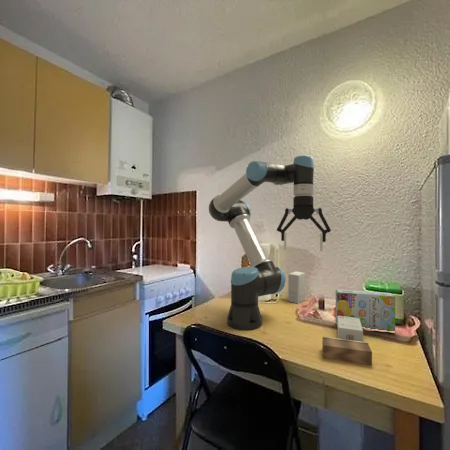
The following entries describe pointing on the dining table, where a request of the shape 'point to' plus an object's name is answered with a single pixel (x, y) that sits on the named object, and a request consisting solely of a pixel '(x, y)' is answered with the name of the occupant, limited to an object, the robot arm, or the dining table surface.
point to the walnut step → (347, 350)
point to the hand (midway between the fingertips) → (302, 249)
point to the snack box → (367, 308)
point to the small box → (349, 328)
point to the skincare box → (296, 287)
